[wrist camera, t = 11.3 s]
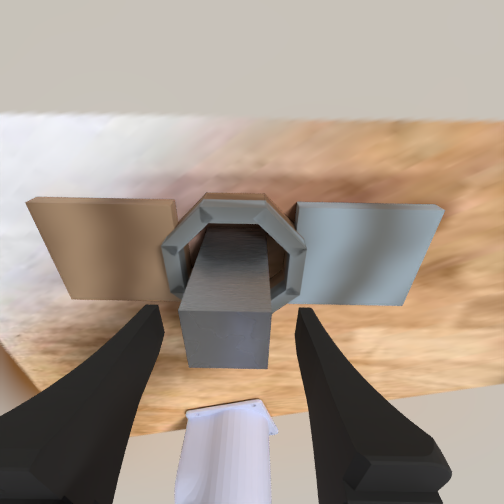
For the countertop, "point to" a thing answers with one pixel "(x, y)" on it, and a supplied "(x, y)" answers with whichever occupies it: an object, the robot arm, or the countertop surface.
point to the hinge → (236, 212)
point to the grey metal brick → (228, 301)
